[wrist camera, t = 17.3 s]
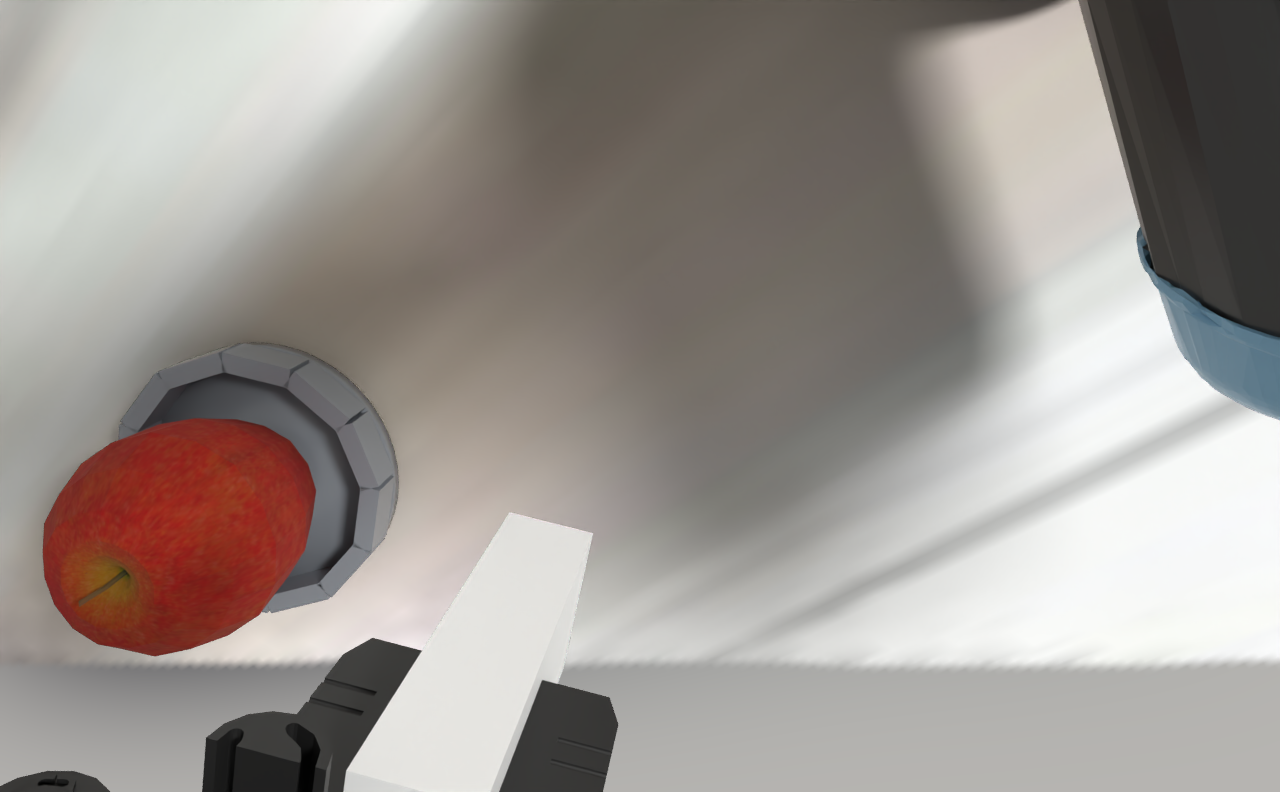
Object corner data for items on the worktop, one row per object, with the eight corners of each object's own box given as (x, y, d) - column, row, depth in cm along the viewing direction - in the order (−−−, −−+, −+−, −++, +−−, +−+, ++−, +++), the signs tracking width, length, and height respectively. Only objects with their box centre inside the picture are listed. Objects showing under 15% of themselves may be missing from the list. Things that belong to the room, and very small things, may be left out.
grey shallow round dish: (112, 382, 49) (72, 398, 46) (338, 310, 46) (310, 323, 43) (219, 605, 52) (188, 633, 50) (436, 551, 50) (416, 577, 47)
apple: (305, 593, 50) (143, 761, 37) (148, 496, 50) (-72, 632, 36) (388, 450, 47) (244, 578, 34) (221, 344, 47) (9, 433, 33)
